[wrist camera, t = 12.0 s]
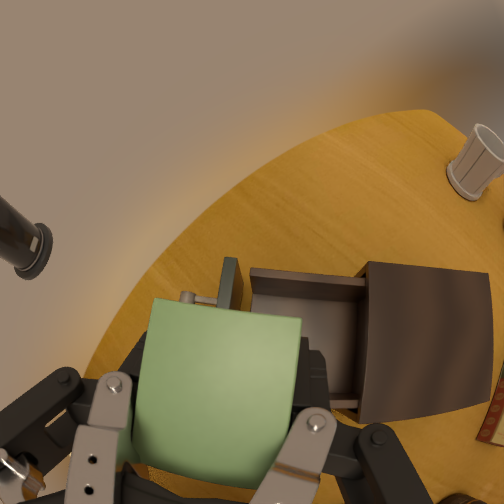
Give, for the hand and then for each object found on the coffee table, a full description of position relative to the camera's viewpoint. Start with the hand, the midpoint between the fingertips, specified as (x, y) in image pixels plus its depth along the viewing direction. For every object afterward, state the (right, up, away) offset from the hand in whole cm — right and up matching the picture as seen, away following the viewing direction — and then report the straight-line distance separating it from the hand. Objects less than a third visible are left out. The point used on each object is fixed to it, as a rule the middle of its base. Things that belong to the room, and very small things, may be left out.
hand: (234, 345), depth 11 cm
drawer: (+3, -6, +18) cm, 19 cm away
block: (0, -4, +4) cm, 5 cm away
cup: (+42, +17, +28) cm, 53 cm away
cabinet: (+19, -8, +18) cm, 27 cm away
